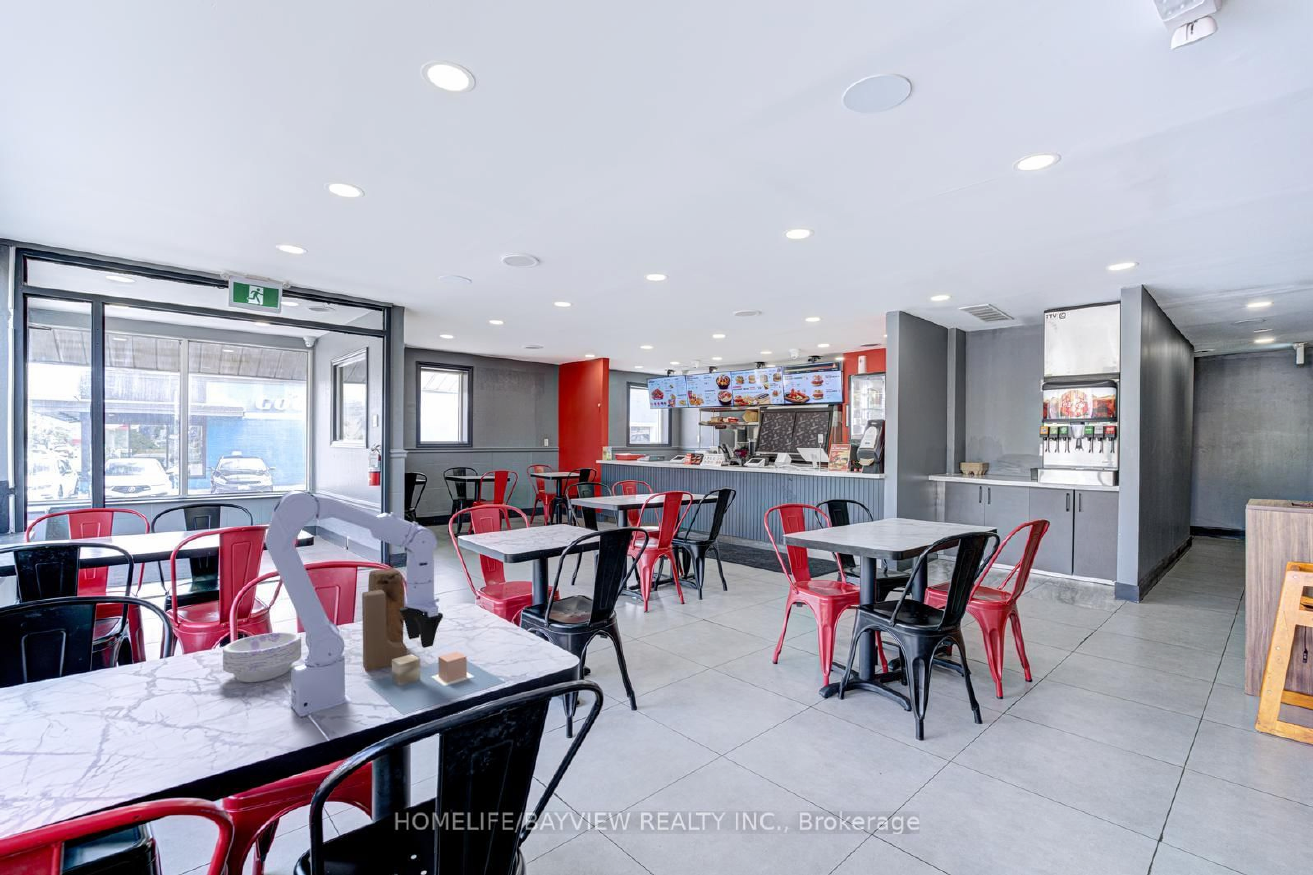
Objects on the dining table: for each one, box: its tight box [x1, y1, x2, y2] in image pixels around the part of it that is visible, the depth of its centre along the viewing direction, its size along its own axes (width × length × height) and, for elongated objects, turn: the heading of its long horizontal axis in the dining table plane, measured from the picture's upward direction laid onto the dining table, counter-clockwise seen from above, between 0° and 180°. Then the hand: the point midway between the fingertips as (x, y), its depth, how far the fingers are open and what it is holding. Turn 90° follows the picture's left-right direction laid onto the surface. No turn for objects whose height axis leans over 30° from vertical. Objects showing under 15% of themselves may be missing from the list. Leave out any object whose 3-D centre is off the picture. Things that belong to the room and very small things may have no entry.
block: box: [367, 568, 406, 643], centre depth 157 cm, size 11×8×20 cm
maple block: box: [391, 653, 421, 685], centre depth 135 cm, size 4×4×4 cm
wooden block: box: [361, 590, 408, 672], centre depth 144 cm, size 9×4×18 cm, turn 124°
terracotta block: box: [437, 651, 468, 682], centre depth 136 cm, size 4×4×4 cm
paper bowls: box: [222, 631, 302, 683], centre depth 140 cm, size 15×15×8 cm
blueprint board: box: [365, 659, 506, 716], centre depth 133 cm, size 22×22×1 cm
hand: (420, 642), depth 135 cm, fingers open, 7 cm apart
